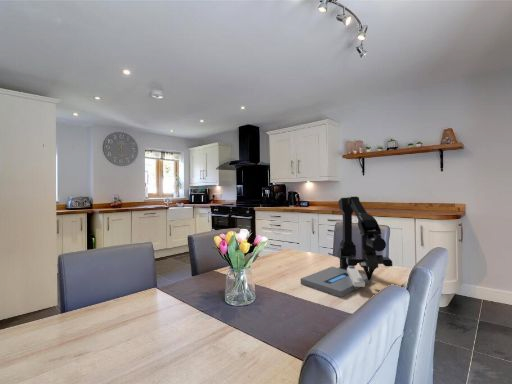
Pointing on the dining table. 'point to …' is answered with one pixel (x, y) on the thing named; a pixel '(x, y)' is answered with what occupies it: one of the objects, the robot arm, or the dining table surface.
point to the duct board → (336, 288)
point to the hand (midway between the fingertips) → (368, 280)
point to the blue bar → (336, 279)
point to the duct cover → (355, 277)
